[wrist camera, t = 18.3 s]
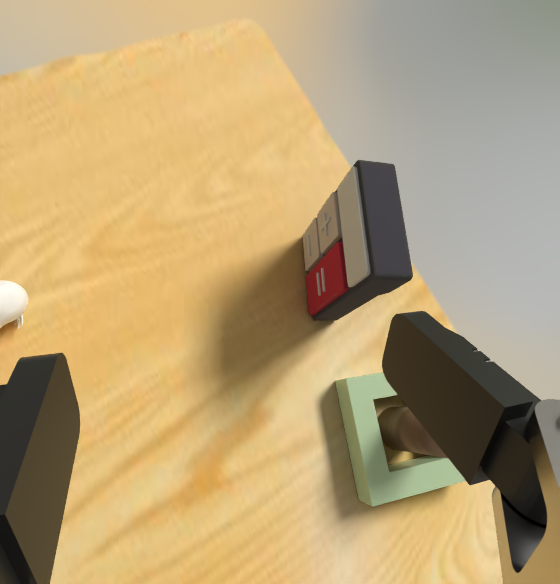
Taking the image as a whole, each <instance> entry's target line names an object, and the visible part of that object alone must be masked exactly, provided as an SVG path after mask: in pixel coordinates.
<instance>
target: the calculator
mask: <svg viewBox="0 0 560 584" xmlns="http://www.w3.org/2000/svg"><path fill="white" fill-rule="evenodd" d="M303 247H304V260H305V271H309V274H308V275H307V276H306V286H307V298H308V311H309V315H312V318H313V320H338V319H340V318H341V317H343V316H345V315H346V314H348V313H350V312H351V311H353V310H355V309H356V308H358V307H360V306H361V305H363V304H365V303H366V302H368V301H370V300H371V299H373V298H375V297H376V296H378V295H382V294H385V293H389V292H391V291H393V290H395V289H396V288H398V287H400V286H401V285H403V284H405V283H407V282H408V281H410V280H411V279H412V277H413V273H412V267H411V261H410V255H409V249H408V243H407V237H406V231H405V225H404V219H403V213H402V207H401V201H400V195H399V189H398V183H397V177H396V171H395V166H394V165H393V164H388V163H380V162H371V161H362V160H358V161H357V162H356V163H355V164H354V166H353V167H352V168H351V169H350V171H349V172H348V173H347V175H346V176H345V178H344V179H343V181H342V182H341V183H340V185H339V186H338V189H337V190H336V191H335V192H333V193H332V194H331V195H330V197H329V198H328V199H327V201H326V202H325V204H324V205H323V207H322V208H321V210H320V211H319V213H318V214H317V218H314V220H313V221H312V223H311V224H310V226H309V227H308V228H307V230H306V231H305V233H304V234H303Z"/></svg>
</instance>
